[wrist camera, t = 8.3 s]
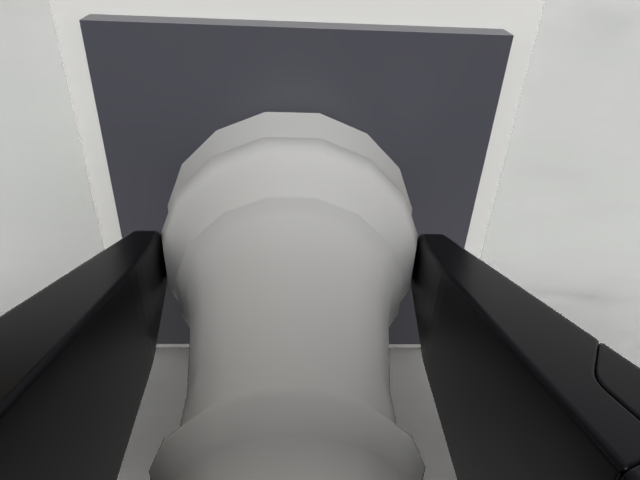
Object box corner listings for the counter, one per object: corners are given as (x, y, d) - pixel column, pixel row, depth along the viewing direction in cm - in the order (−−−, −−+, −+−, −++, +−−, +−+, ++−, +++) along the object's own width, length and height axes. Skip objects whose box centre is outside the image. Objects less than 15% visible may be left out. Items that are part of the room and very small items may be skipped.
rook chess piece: (445, 242, 11) (707, 843, 4) (262, 333, 12) (219, 917, 5) (331, 48, 8) (481, 645, 2) (120, 182, 10) (-289, 855, 3)
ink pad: (132, 329, 13) (119, 362, 12) (56, -35, 9) (28, -26, 8) (451, 330, 13) (462, 362, 12) (533, -14, 9) (561, -4, 8)
